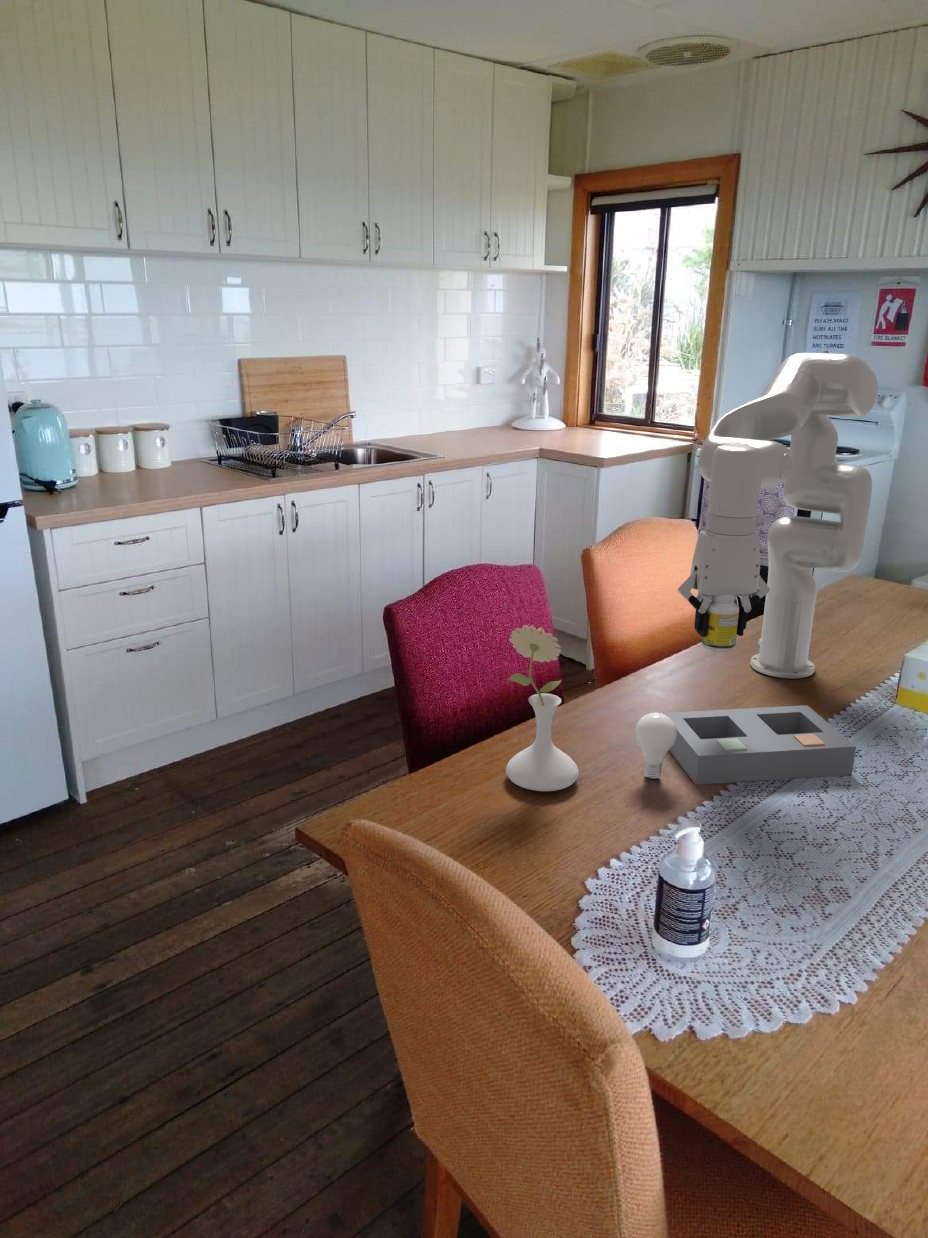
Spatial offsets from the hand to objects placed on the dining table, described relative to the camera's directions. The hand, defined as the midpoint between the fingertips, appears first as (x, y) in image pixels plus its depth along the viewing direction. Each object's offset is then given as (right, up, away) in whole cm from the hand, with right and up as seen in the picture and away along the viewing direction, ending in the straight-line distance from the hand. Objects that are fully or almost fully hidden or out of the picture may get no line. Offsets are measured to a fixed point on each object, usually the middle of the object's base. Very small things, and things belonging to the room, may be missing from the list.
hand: (719, 632), depth 151 cm
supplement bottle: (0, -3, +1) cm, 3 cm away
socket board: (+6, -21, +2) cm, 22 cm away
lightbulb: (-12, -23, -5) cm, 26 cm away
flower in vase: (-30, -23, -5) cm, 38 cm away
